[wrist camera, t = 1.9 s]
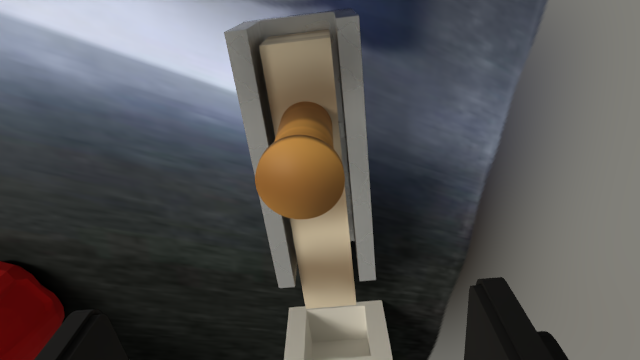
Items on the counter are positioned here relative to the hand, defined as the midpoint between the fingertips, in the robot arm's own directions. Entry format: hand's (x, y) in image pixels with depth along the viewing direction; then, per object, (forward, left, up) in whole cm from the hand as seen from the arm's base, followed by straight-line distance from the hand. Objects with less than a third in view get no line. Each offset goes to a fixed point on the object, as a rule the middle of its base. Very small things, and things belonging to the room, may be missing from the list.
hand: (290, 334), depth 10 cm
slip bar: (+5, 0, -20) cm, 20 cm away
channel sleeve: (+3, 0, -21) cm, 21 cm away
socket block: (+23, 0, -21) cm, 31 cm away
